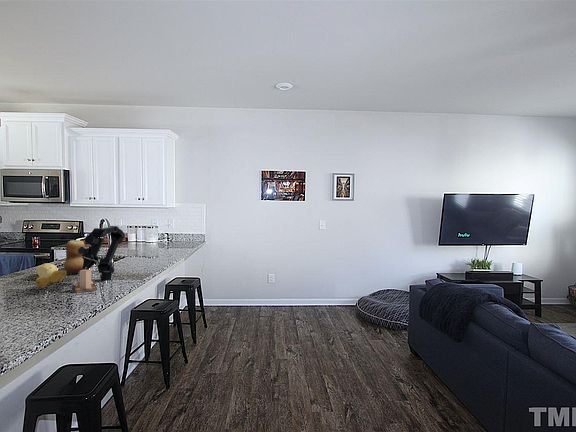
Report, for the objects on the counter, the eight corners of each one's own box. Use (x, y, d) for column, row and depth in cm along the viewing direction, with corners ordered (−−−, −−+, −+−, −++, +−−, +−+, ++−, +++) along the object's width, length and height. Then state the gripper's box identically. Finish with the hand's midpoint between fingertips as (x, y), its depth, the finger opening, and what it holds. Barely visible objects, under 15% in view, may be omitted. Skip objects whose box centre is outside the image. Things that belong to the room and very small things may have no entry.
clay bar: (85, 288, 226) (85, 269, 226) (91, 289, 225) (91, 269, 225) (79, 290, 222) (79, 270, 221) (85, 290, 221) (86, 271, 220)
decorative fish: (64, 278, 249) (61, 265, 247) (68, 279, 249) (65, 265, 246) (36, 293, 229) (33, 279, 226) (41, 294, 228) (37, 279, 225)
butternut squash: (80, 275, 267) (80, 241, 266) (60, 275, 265) (60, 241, 264) (87, 271, 281) (87, 239, 280) (68, 271, 279) (68, 239, 277)
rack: (95, 285, 239) (95, 280, 239) (95, 293, 220) (95, 288, 220) (75, 287, 234) (75, 282, 233) (74, 295, 215) (74, 289, 215)
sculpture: (33, 279, 252) (33, 263, 251) (49, 275, 263) (49, 261, 263) (45, 280, 248) (45, 265, 248) (61, 277, 259) (61, 262, 259)
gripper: (86, 244, 245) (76, 266, 241) (79, 240, 227) (67, 264, 223) (103, 249, 247) (93, 271, 243) (97, 246, 229) (86, 270, 225)
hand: (85, 269), depth 233 cm, fingers open, 9 cm apart
